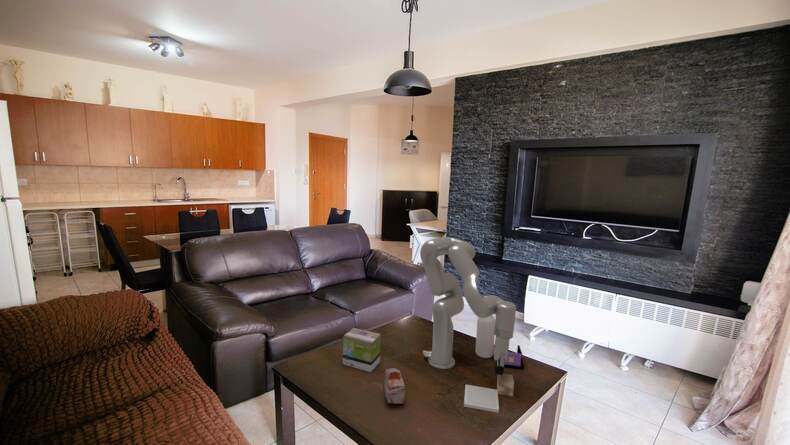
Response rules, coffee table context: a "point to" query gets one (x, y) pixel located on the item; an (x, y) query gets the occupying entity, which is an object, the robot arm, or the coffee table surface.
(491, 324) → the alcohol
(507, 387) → the maple cube
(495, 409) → the plate
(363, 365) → the tea box
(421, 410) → the coffee table surface
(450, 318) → the robot arm
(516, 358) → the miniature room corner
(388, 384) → the food item
